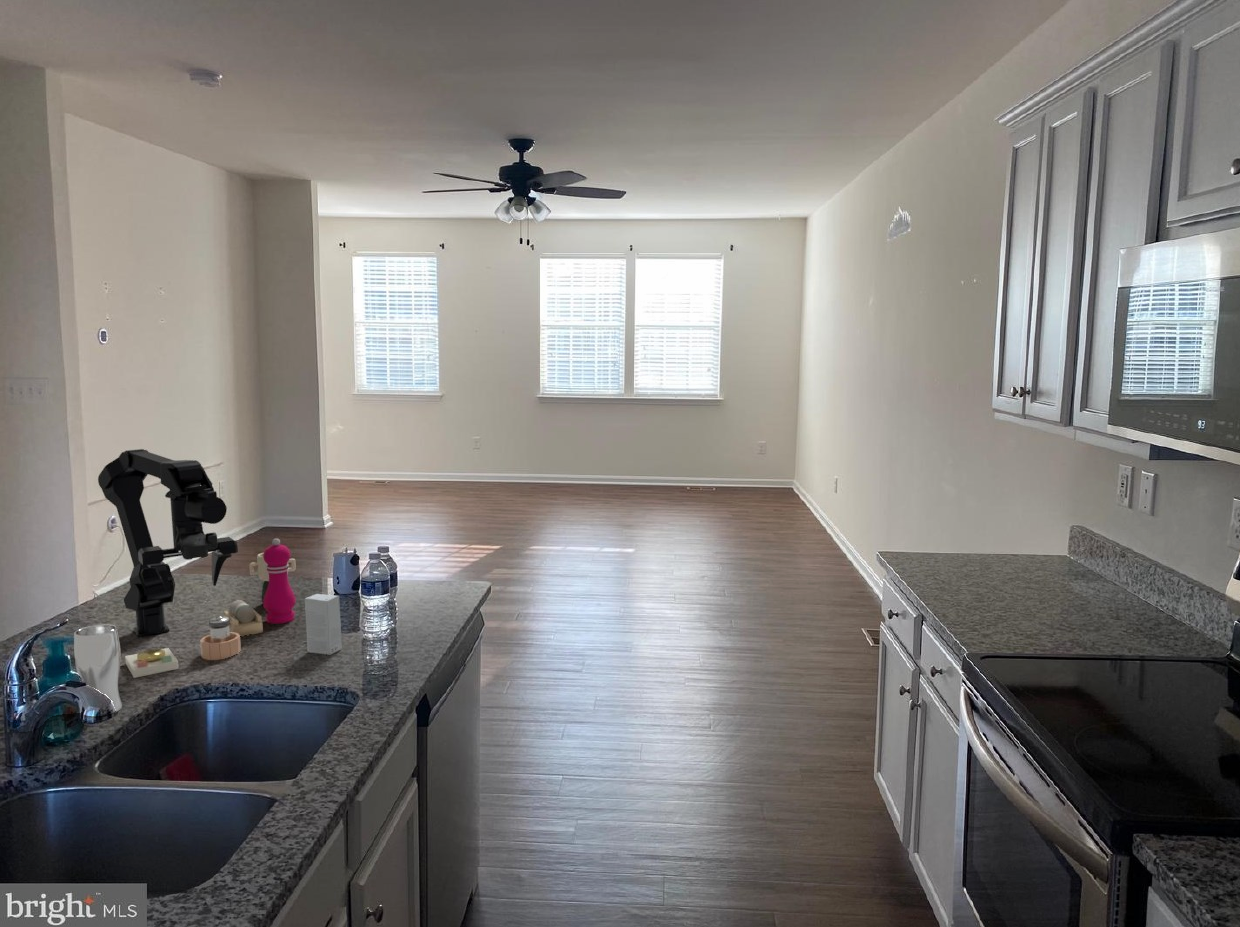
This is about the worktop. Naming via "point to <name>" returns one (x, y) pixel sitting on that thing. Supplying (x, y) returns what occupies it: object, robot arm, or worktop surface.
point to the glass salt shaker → (219, 629)
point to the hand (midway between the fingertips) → (191, 589)
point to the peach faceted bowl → (220, 647)
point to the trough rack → (243, 619)
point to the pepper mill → (278, 585)
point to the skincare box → (323, 624)
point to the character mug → (263, 573)
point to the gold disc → (151, 655)
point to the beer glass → (99, 659)
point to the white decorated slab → (151, 664)
